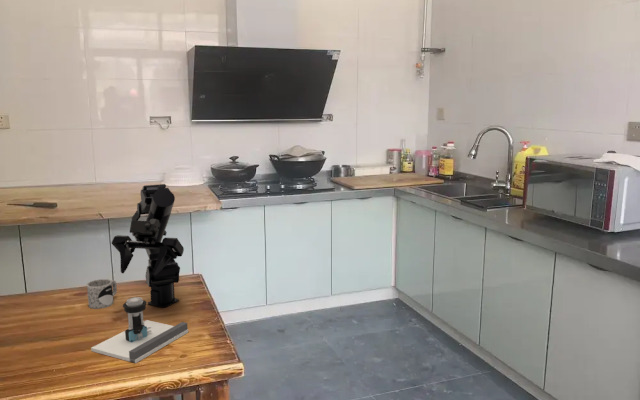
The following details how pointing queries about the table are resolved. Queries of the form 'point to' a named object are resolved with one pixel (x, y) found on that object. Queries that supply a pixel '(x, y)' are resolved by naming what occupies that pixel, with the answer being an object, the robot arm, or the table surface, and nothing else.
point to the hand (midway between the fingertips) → (137, 273)
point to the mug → (101, 293)
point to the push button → (135, 319)
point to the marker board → (141, 342)
